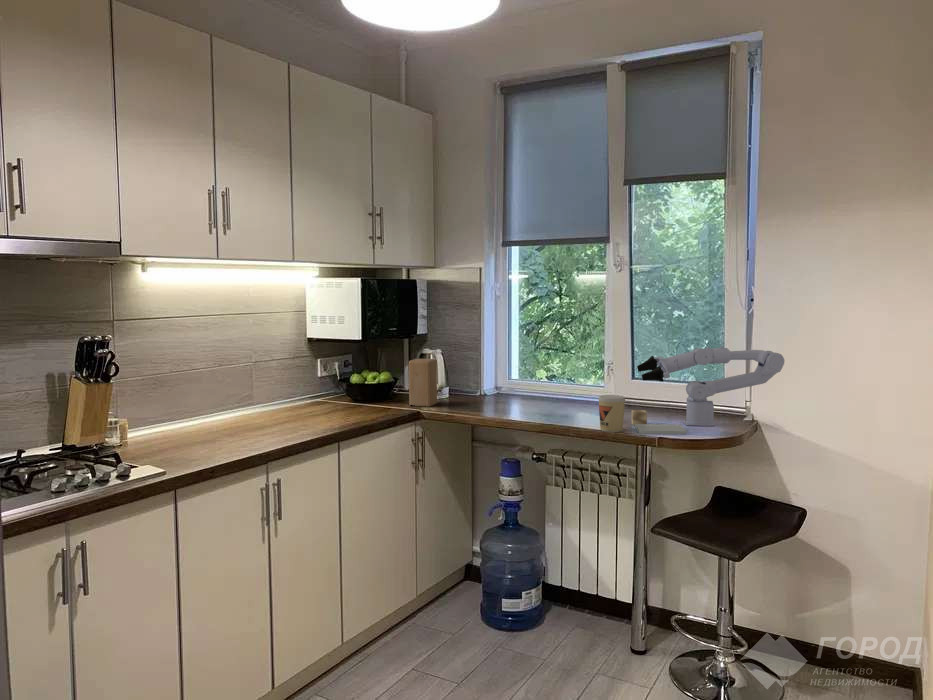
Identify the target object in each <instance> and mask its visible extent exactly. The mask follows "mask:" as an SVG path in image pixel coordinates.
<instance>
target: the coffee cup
mask: <svg viewBox="0 0 933 700" xmlns="http://www.w3.org/2000/svg"><path fill="white" fill-rule="evenodd" d="M598 397H599V398H597V399H598V411H599V428H600V431H601V430H602V432H605V433H620V431H621V432H622V431H623V428H624V427H623V426H624V415H625V406H626V403H625V402H626V398H625V396H624V395H620V394H619V395H617V394H603V395H599V396H598Z"/></svg>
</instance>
